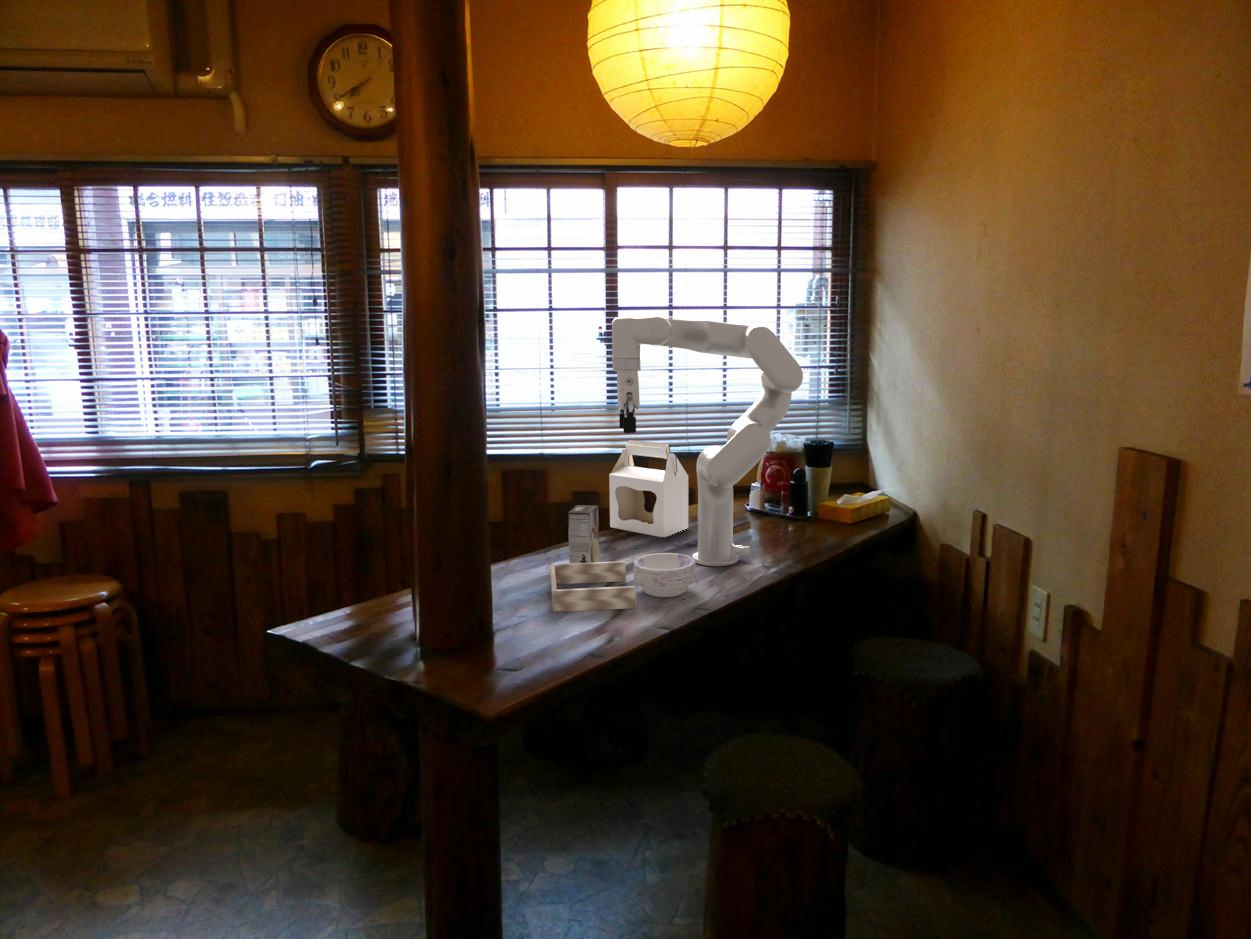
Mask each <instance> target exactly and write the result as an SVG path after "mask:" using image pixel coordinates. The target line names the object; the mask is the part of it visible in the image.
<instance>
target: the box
mask: <svg viewBox="0 0 1251 939" xmlns="http://www.w3.org/2000/svg"><path fill="white" fill-rule="evenodd" d="M549 566H550V569H549V570H550V589H551V590H550V591H551V603H552V613H565V612H582V611H584V612H585V611H587V612H588V611H603V610H605V611H606V610H620V609H622V610H623V609H624V610H625V609H636V604H637V603H636V586H635V585H626V586H625V585H624V586H607V587H606V586H604V587H587V588H586V587H585V588H584V587H582V588H563V589H557V585H564V584H565V585H570V584H571V585H573V584H589V583H591V584H592V583H593V584H594V583H611V582H614V583H615V582H626V577H627V576H626V575H627V574H626V571H627V569H626V566H627V565H626V561H625V560H620V561H619V560H617V561H616V560H615V561H600V562H593V563H570V564H569V563H558V564H557V563H553V564H552V563H551V564H550V565H549Z"/></svg>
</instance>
